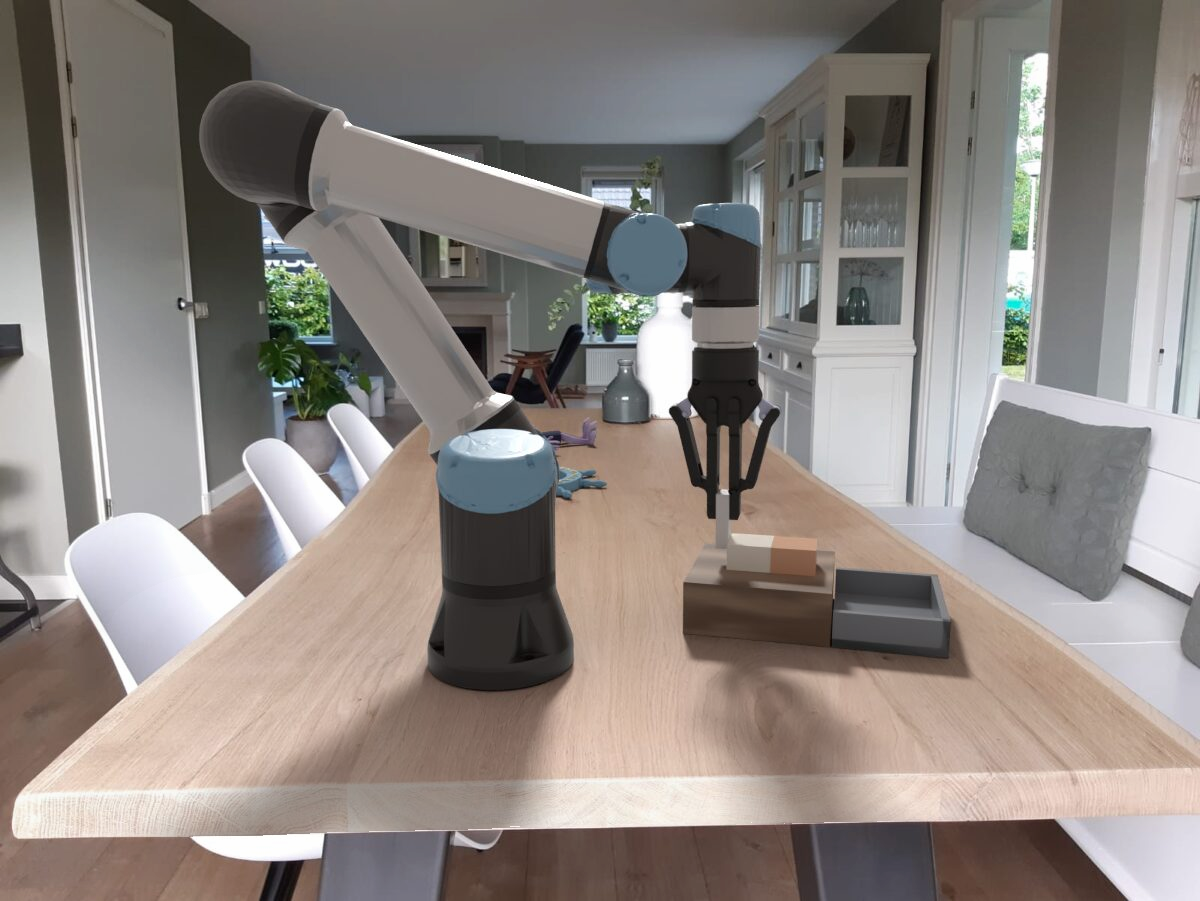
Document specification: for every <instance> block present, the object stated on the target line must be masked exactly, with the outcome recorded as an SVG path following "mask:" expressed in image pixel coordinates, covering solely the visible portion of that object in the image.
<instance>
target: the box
mask: <svg viewBox="0 0 1200 901" xmlns="http://www.w3.org/2000/svg"><path fill="white" fill-rule="evenodd" d="M943 593H944V592H943V590H942V586H941V583H940V579H939V574H932V573H921V572H906V571H895V570H894V571H891V570H881V569H879V570H878V569H863V568H853V567H852V568H851V567H838V566H836V567H835V578H834V598H833V608H832V627H831V635H832V636H831V648H832V649H833V648H835V649H843V650H844V649H845V650H854V651H865V652H866V651H867V652H878V653H888V654H898V655H907V656H910V655H911V656H918V657H930V658H940V659H949V657H950V656H949V655H950V643H951V642H950V640H951V639H950V638H951V624H952V622H951V618H950V614H949V611H948V606H947V603H946V599H945V596H944V594H943Z"/></svg>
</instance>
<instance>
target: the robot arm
mask: <svg viewBox="0 0 1200 901" xmlns="http://www.w3.org/2000/svg"><path fill="white" fill-rule="evenodd" d="M198 133H199V136H198V137H199V138H198V140H199V146H200V152H201V155H202V158H203V160H204V163H205V165H206V167H207V169H208V171H209V172H210V173H211V175H212V176H213V177H214V179H215V180H216V181H217V182H218V183H219V184H220V185H221V186H222V187H223V188H224V189H225V190H227V191H228V192H230V193H231V194H232V195H234V196H236V197H238V198H241V199H243V200H245V201H248V202H251V203H254V204H256V205H257V206H258V208H260V210H261V211H262V213H263V214H264V216H265V217H266V219H267V220H268V222H269V223H270V225H271V226H272V227H273V229H274V231H275V232H276V233H277V235H278V236H279V238H280V239H281V240H282V242H283V243H284V245H286V246H287V247H290V248H295V249H298V250H302V251H304V252H306V253H307V254H308V255H309V256H310V258H311V259H312V261H313V262H314V263H315V266H316V267H317V268H318V270H319V271H320V272H321V274H322V275H323V277H324V278H325V280H326V281H327V282H328V284H329V286H330V287H331V288H332V290H333V291H334V293H335V294H336V297H338V299H339V300H340V302H341V303H342V304H343V306H344V307H345V309H346V310H347V312H348V314H349V315H350V316H351V318H352V319H353V320H354V322H355V323H356V325H357V326H358V328H359V329H360V331H361V332H362V334H363V336H364V337H365V338H366V340H367V341H368V343H369V344H370V346H371V347H372V348H373V350H374V351H375V353H376V354H377V356H378V357H379V359H380V360H381V361H382V364H384V366H385V367H386V369H387V370H388V372H389V373H390V375H391V377H393V379H394V381H395V382H396V384H397V385H398V386H399V389H400V390H401V391H402V393H403V394H404V396H405V397H406V398H407V400H408V401H409V403H410V404H411V405H412V407H413V408H414V410H415V412H416V413H417V415H418V416H419V417H420V419H421V420H422V421H423V423H424V425H425V426H426V428H427V429H428V430H429V435H430V438H429V445H428V448H427V453H428V454H429V456H430V457H431V459H432V460H433V462H434V463H435V464H436V467H437V468H436V471H435V481H436V485H437V490H438V507H439V509H438V512H439V535H440V537H439V538H440V562H441V564H440V565H441V585H442V586H441V587H442V588H441V589H442V590H441V596H440V599H439V603H438V606H437V609H436V613H435V617H434V619H433V624H432V628H431V630H430V633H429V637H428V640H427V665H428V666H427V667H428V669H429V671H430V673H431V674H432V675H433V676H434V677H435V678H437V679H438V680H440V681H441V682H444V683H447V684H450V685H453V686H456V687H460V688H464V689H471V690H479V691H480V690H482V691H483V690H484V691H499V690H501V691H502V690H503V691H504V690H515V689H522V688H526V687H531V686H534V685H535V686H536V685H539V684H541V683H545V682H548V681H550V680H551V681H552V680H553V679H555V678H557V677H558V676H559V677H560V675H562V674H564V673H565V672H566V671H567V670H568V669H570V667H571V666H572V664H573V662H574V660H575V659H574V658H575V646H574V644H575V640H574V634H573V631H572V629H571V625H570V624H569V621H568V620H569V619H568V618H567V615H566V612H565V609H564V605H563V604H562V603H563V602H562V600H561V598H560V594H559V592H558V588H557V576H556V575H557V574H556V573H557V572H556V570H557V569H556V566H557V565H556V562H557V561H556V559H557V558H556V498H557V495H556V494H557V489H558V483H559V461H558V457H557V453H556V452H555V451H554V449H553V448H554V447H552V445H553V444H552V445H551V444H550V442H549V441H548V439H547V438H546V437H545V436H543V435H542V434H541V431H540V430H538V429H536V427H533V426H532V425H533V423H532V422H530V420H529V419H528V418H529V417H527V415H526V413H525V412H524V411H523V409H522V408H521V407H520V405H519V403H518V402H517V401H516V399H515V398H514V396H513V395H511V394H504V393H500V392H497V391H496V390H494V389H493V388H492V387H491V385H490V384H489V382H488V381H487V379H486V377H485V375H484V374H483V373H482V371H481V370H480V368H479V367H478V365H477V364H476V363H475V361H474V360H473V358H472V356H471V355H470V353H469V352H468V351H467V349H466V348H465V346H464V344H463V343H462V340H460V338H459V336H458V335H457V334H456V332H455V331H454V329H453V328H452V326H451V324H450V323H449V322H448V320H447V319H446V317H445V316H444V314H443V313H442V311H441V310H440V308H439V307H438V305H437V303H436V302H435V301H434V299H433V298H432V296H431V295H430V293H429V291H428V290H427V289H426V287H425V285H424V284H423V282H422V281H421V279H420V278H419V277H418V275H417V274H416V272H415V271H414V269H413V268H412V266H411V264H410V263H409V261H408V260H407V259H406V258H407V257H405V255H404V254H403V252H402V251H401V249H400V248H399V245H398V244H397V243H396V242H395V241H394V239H393V237H392V236H391V234H390V233H389V231H388V230H387V228H386V227H385V225H384V224H383V222H382V221H381V219H382V220H385V221H388V222H392V223H396V224H399V225H402V226H406V227H410V228H413V229H416V230H420V231H422V232H427V233H430V234H433V235H436V236H440V237H444V238H447V239H451V240H453V241H458V242H460V243H463V244H467V245H471V246H474V247H477V248H480V249H485V250H489V251H491V252H495V253H498V254H502V255H505V256H509V257H512V258H515V259H519V260H521V261H525V262H529V263H533V264H536V265H540V266H542V267H546V268H550V269H552V270H557V271H560V272H563V273H566V274H569V275H574V276H577V277H580V278H584V279H586V287H587V289H588V290H589V291H590V292H591V293H595V294H610V295H620V294H632V295H636V296H639V297H646V298H650V297H651V298H652V297H656V296H660V294H663V293H686V292H687V293H689V292H691V294H692V295H691V297H692V302H691V303H692V304H691V306H692V307H691V340H692V342H693V343H695V344H696V343H697V345H696V346H695V347H693V349H692V350H691V386H690V388H689V389H688V391H687V393H686V394H687V396H686V398H684V399H683V400H681V401H680V402H676V403H674V404H672V405H671V406H670V407H669V409H668V414H669V415H670V418H672V420H673V422H674V423H675V424H676V426H677V430H678V434H679V439H680V443H681V447H682V451H683V455H684V459H685V464H686V468H687V470H688V471H687V473H688V475H689V476H688V477H689V481H690V484H691V486H693V487H694V488H699V489H702V490H703V491H704V492H705V493H706V517H707V518H708V520H715V543H716V549H727V543H728V541H729V539H730V537H731V535H732V521H738V520H739V518H740V516H741V513H742V512H741V511H742V510H741V508H742V506H741V505H742V499H741V498H742V493H743V492H744V491H746V490H753V489H754V488H755V486H756V485H757V483H758V482H757V481H758V479H759V474H760V472H761V466H762V464H763V459H764V457H765V456H764V455H765V452H766V449H767V444H768V441H769V437H770V435H771V434H770V433H771V430H772V426H773V425H774V424H775V422H776V421H777V420H778V418H779V417H780V414H781V412H782V408H781V406H779V405H778V404H775V405H774V404H773V403H771V402H770V401H768V400H767V399H765V398H764V397H763V396H764V393H763V390H762V389H761V388H760V383H759V373H760V372H759V369H760V368H759V366H760V364H759V363H760V362H759V361H760V356H759V355H760V354H759V353H760V349H758V347H757V346H755V344H754V343H757V342H758V341H759V340H760V286H761V284H760V283H761V256H762V255H761V250H762V248H763V246H762V243H761V242H762V240H761V222H760V213H759V210H758V209H757V207H756V206H754V205H753V204H749V203H745V202H744V203H742V202H724V203H723V202H722V203H721V202H720V203H706V204H699V205H696V206H695V207H694V208H693V210H692V217H691V218H690V222H685V223H677V224H676V223H675V222H673V220H670V219H671V218H668V217H666V216H664V215H661V214H660V213H659V214H658V213H655V212H651V211H645V212H639V211H637V210H633V209H629V208H626V207H624V206H620V205H615V204H611V203H609V202H608V203H607V202H605V201H603V200H600V199H598V198H593V197H590V196H588V195H584V194H581V193H577V192H574V191H570V190H567V189H564V188H561V187H558V186H553V185H551V184H549V183H544V182H541V181H537V180H535V179H531V178H528V177H524V176H521V175H519V174H514V173H511V172H508V171H505V170H502V169H498V168H495V167H491V166H488V165H484V164H483V163H479V162H474V161H472V160H469V159H465V158H462V157H458V156H455V155H451V154H449V153H446V152H442V151H438V150H436V149H433V148H429V147H425V146H422V145H418V144H415V143H412V142H410V141H405V140H402V139H398V138H396V137H392V136H389V135H387V134H382V133H379V132H376V131H372V130H369V129H366V128H362V127H360V126H356V125H353V124H351V123H350V121H349V119H348V117H347V116H346V114H345V113H344V111H343V110H341V109H339V108H336V107H332V106H329V105H326V104H323V103H319V102H317V101H314V100H312V99H309V98H307V97H305V96H302V95H299V94H297V93H295V92H293V91H291V90H290V89H288V88H285V87H283V86H282V85H279V84H277V83H275V82H269V81H266V80H265V81H264V80H253V79H252V80H251V79H250V80H245V81H239V82H237V83H234V84H231V85H229V86H227V87H226V88H224V89H221V90H220V91H219V92H218V93H217V94H216V95H215V96H214V97H213V98H212V99H211V100H210V101H209V102H208V104H207V106H206V108H205V110H204V112H203V114H202V117H201V120H200V124H199V132H198ZM691 407H692V408H693V409H694V411H695V412H696V413H697V415H698V416H699V418H700V419H701V420H702V422H703V423H704V424H705V431H706V432H705V435H706V471H705V472H706V475H705V474H704V471H703V466H702V462H701V458H700V453H699V448H698V444H697V440H696V437H695V433H694V429H693V428H694V427H693V425H692V421H691V419H690V417H691V416H692V408H691ZM757 408H758V410H759V412H758V418H759V420H760V421H761V423H760V425H759V428H758V431H757V435H756V439H755V443H754V447H753V450H752V453H751V458H750V461H749V464H748V468H747V471H746V472H747V473H746V476H745V477H743V476H742V470H743V469H742V468H743V467H742V466H743V464H742V463H743V462H742V461H743V425H744V424H745V423H746V422H747V420H748V419H750V418H749V417H751V416H752V414H753V412H755V410H756V409H757ZM531 423H532V424H531ZM722 426H725V427H728V489H725V488H724V489H723V488H720V484H721V482H720V475H721V474H720V472H721V471H720V468H721V466H720V465H721V464H720V462H721V461H720V458H721V457H720V456H721V455H720V454H721V450H720V449H721V427H722Z"/></svg>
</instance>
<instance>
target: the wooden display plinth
mask: <svg viewBox="0 0 1200 901" xmlns="http://www.w3.org/2000/svg"><path fill="white" fill-rule="evenodd" d="M835 559H836V551H832V550H819V549H817V566H816V574H815V576H803V575H789V574H775V573H765V572H751V571H737V570H726V564H727V549H716V542H715V543H714V542H704V545H703V547H702V548H701V550H700V552H699V553H698V555H697V557H696V559H695V561H693V564H692V566H691V567H690V569H689V571H688V573H687V575H686V576H685V579H684V580H683V582H682V586H683V589H682V603H683V604H682V634H689V635H699V636H708V637H719V638H728V639H740V640H750V641H762V642H773V643H780V644H781V643H782V644H783V643H784V644H792V645H793V644H795V645H803V646H804V645H805V646H814V647H825V648H830V647H831V637H832V636H831V635H832V622H833V607H834V589H835Z"/></svg>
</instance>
